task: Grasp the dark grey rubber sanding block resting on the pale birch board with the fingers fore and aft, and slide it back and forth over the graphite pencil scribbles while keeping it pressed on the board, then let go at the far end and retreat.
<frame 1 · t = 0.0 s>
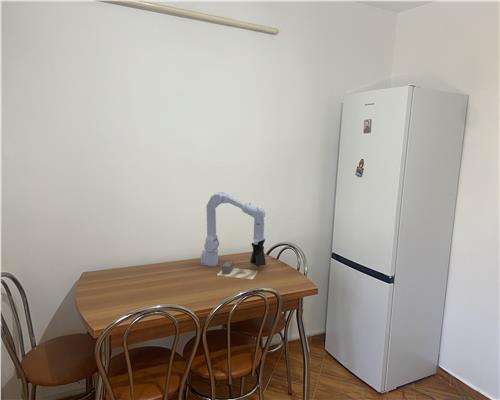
hand: (258, 253, 208), 10 cm above the table, fingers open, 7 cm apart
door stopper: (257, 265, 220), on the table
board: (237, 274, 202), on the table
sanding block: (227, 271, 204), point 1 cm above the table, touching board
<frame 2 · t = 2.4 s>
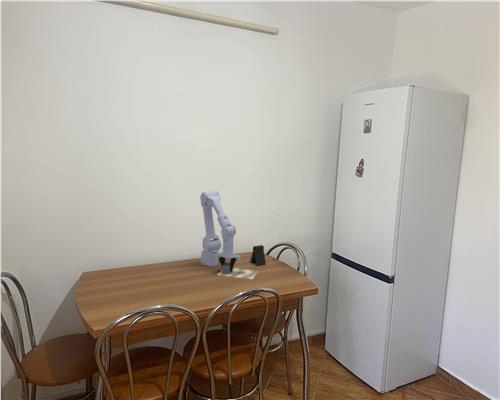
hand: (227, 270, 203), 2 cm above the table, fingers closed on sanding block, 4 cm apart
sanding block: (227, 271, 204), point 1 cm above the table, touching board, gripper
everything else where it was.
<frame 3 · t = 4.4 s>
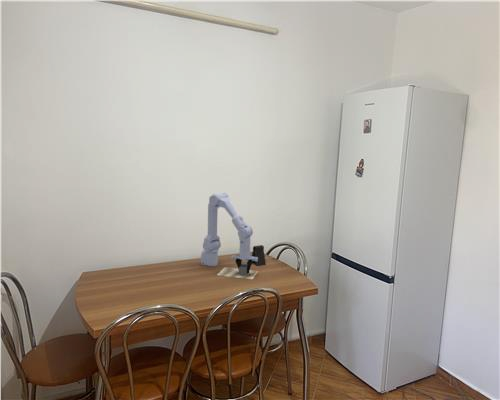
hand: (244, 272, 201), 2 cm above the table, fingers closed on sanding block, 4 cm apart
sanding block: (244, 273, 201), point 1 cm above the table, touching gripper
everything else where it was.
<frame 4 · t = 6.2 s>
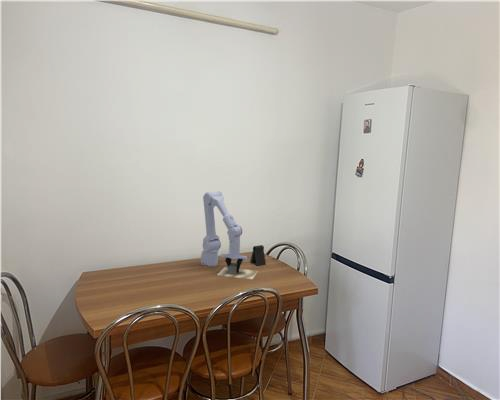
hand: (233, 271, 203), 2 cm above the table, fingers closed on sanding block, 4 cm apart
sanding block: (233, 272, 203), point 1 cm above the table, touching gripper
everything else where it was.
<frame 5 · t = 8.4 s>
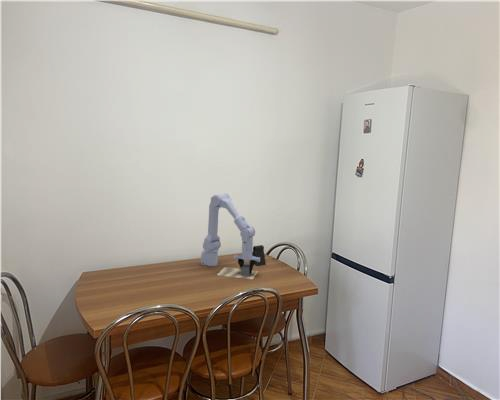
hand: (246, 272, 201), 2 cm above the table, fingers closed on sanding block, 4 cm apart
sanding block: (246, 273, 201), point 1 cm above the table, touching gripper
everything else where it was.
when the fingers open (2 cm above the table, at t = 9.5 s): sanding block stays where it is, resting on board.
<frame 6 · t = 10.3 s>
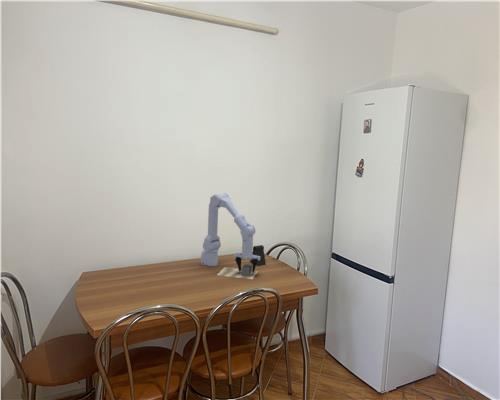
hand: (246, 271, 201), 2 cm above the table, fingers open, 7 cm apart
sanding block: (246, 273, 201), point 1 cm above the table, touching board
everything else where it was.
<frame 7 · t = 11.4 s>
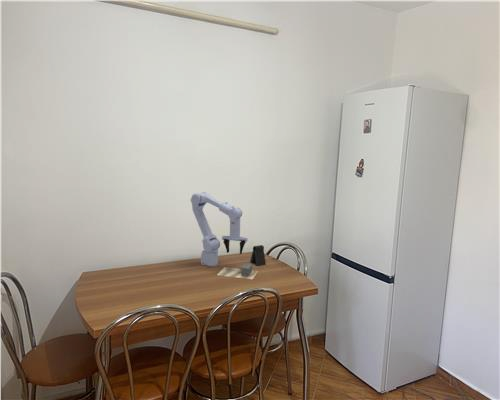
hand: (234, 252, 207), 10 cm above the table, fingers open, 7 cm apart
nothing on the table moved.
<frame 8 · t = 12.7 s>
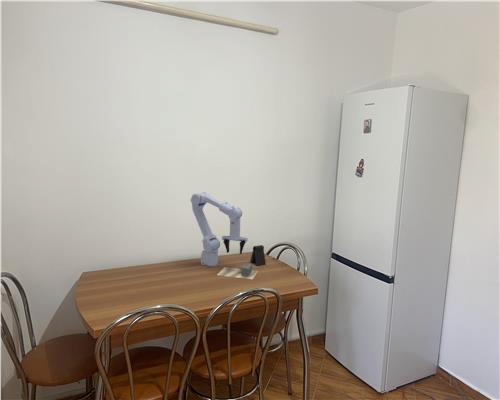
hand: (234, 252, 207), 10 cm above the table, fingers open, 7 cm apart
nothing on the table moved.
at the end: sanding block inside the target area (0.2 cm from its centre), point 1.0 cm above the table; sanding block moved 11.0 cm from its start; the gripper is holding nothing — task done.
